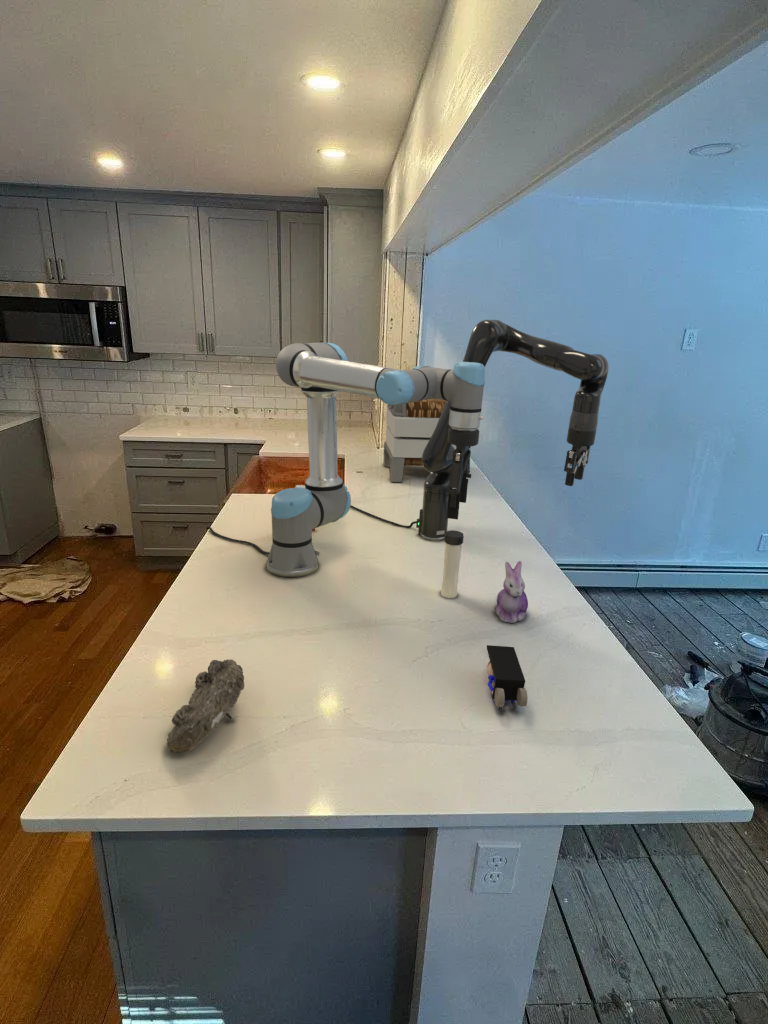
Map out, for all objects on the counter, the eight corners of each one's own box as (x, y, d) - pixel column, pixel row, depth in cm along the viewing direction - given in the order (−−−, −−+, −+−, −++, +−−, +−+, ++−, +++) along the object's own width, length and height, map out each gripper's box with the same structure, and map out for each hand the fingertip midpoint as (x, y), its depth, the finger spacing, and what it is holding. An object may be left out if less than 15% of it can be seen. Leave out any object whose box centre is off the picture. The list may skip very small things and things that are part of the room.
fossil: (192, 660, 117) (244, 628, 112) (224, 691, 120) (276, 661, 115) (142, 746, 98) (202, 712, 93) (182, 779, 101) (242, 748, 96)
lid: (466, 542, 154) (467, 534, 153) (455, 547, 150) (456, 538, 149) (451, 536, 157) (452, 528, 156) (440, 541, 153) (441, 533, 152)
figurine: (509, 627, 143) (516, 574, 138) (485, 609, 151) (491, 558, 146) (538, 620, 147) (546, 567, 142) (512, 602, 156) (519, 552, 151)
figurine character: (526, 722, 112) (510, 670, 126) (532, 694, 109) (515, 643, 122) (492, 722, 112) (480, 669, 125) (498, 693, 109) (484, 642, 122)
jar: (459, 594, 159) (465, 535, 153) (450, 599, 156) (456, 539, 150) (447, 589, 162) (452, 531, 156) (438, 594, 159) (443, 535, 153)
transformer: (382, 463, 289) (386, 382, 275) (445, 464, 293) (451, 384, 279) (390, 482, 257) (394, 392, 243) (460, 483, 261) (468, 394, 247)
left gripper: (472, 439, 126) (464, 528, 133) (485, 420, 149) (477, 497, 156) (439, 436, 128) (432, 523, 135) (457, 418, 150) (450, 494, 158)
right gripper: (577, 422, 167) (568, 474, 173) (561, 428, 156) (552, 484, 162) (603, 425, 163) (593, 479, 169) (588, 433, 152) (578, 490, 158)
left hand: (456, 509), depth 145 cm, fingers open, 13 cm apart
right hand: (573, 482), depth 165 cm, fingers open, 8 cm apart
